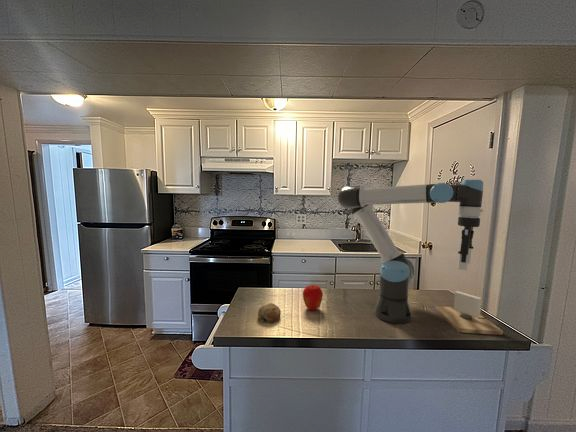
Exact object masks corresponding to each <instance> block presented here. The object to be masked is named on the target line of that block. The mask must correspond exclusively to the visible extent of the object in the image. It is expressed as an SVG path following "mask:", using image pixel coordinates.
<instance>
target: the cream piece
mask: <svg viewBox="0 0 576 432" xmlns="http://www.w3.org/2000/svg"><path fill="white" fill-rule="evenodd" d="M453 307H454V310H456V311H459V312H461V317H462V318H463V319H467V320H471V319H472V316H473V317H476V318H478V317H480V314H481V310H482V309H481V307H482V297H481V296H480V297H479V296H476V295H472V294H469V293H465V292H463V291H459V290H455V291H454V298H453Z"/></svg>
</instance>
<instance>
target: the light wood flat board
mask: <svg viewBox="0 0 576 432" xmlns="http://www.w3.org/2000/svg"><path fill="white" fill-rule="evenodd" d="M435 310H436V312H437V313H439V315H441V316H442V318H443V319H445V320H446V321H447V322H448V323H449V324H450V325H451V326H452V327H453V328H454V329H455V331H457V332H458V333H467V334H479V335H480V334H484V335H496V336H497V335H499V336H503V335H504V331H503V330H502V329H501V328H499V327H498V326H496V325H495V324H494V323H493V322H491V321H490V320H489V319H487V318H486V317H485V316H483V315H482V314H481V313H480V317H478V318H476V317H473V316H472V319H471V320H467V319H463V318H462V317H461V312H459V311H456V310H454V306H443V305H442V306H441V305H439V306H438V305H437V306H436V305H435Z"/></svg>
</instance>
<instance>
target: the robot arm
mask: <svg viewBox="0 0 576 432" xmlns="http://www.w3.org/2000/svg"><path fill="white" fill-rule="evenodd" d="M483 194H484V181H483V180H482V179H462V180H461V182H460V184H451V183H450V184H449V183H445V182H438V183H429V184H414V185H412V184H411V185H399V186H383V187H380V186H379V187H367V188H366V187H365V186H364V185H363V186H361V185H346V186H344V187H343V188H341V189H340V190H339V192H338V194H337V201H338V203H339V205H340V206H341V207H342V208H344V209H346V210H349V211H350V213H351V214H352V216H354V217H356V218H357V219H358V220H359V223H360V224H361V225H362V227H363V229H364V230H365V232H366V234H367V236H368V238H369V239H370V241H371V243H372V244H373V246H374V248H375V249H376V251H377V253H378V255H379V256H380V258H381V259H380V260H381V261H380V264H381V265H380V269H379V296H378V299H377V301H376V303H375V307H374V315H375V316H376V317H377V318H378V319H380V320H382V321H385V322H388V323H390V324H392V323H393V324H397V325H398V324H400V325H401V324H407V323H409V322H411V321H412V311H411V308H410V304H409V284H410V283H411V281H412V280H413V278H414V276H415V266H414V265H413V262H412V261H411V260H409V259H408V258H407V257H406V255H405V253H404V252H403V251H400V250H398V248H397V247H396V245H395V243H394V242H393V240H392V238H391V237H390V235H389V233H388V231H387V230H386V229H385V226H384V225H383V223H382V222H381V221H380V218H379V217H378V215H377V214H376V212H375V210H374V205H398V204H400V205H401V204H406V205H407V204H433V203H434V204H435V203H436V204H437V203H438V204H445V203H447V202H448V203H459V207H458V216H459V217H458V218H457V225H458V226H460V227H464V228H463V229H462V230H461V243H460V248H459V249H460V251H459V250H458V251H457V252H458V253H457V254H459V263H458V270H461V271H464V272H465V271H468V265H470V264H471V257H472V256H471V255H472V249H473V250H474V246H473V238H474V233H475V231H474V230H473V229H474V228H478V227H480V224H481V218H480V217H481V214H482V212H483V211H484V210H483V208H482V203H483Z"/></svg>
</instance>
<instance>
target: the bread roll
mask: <svg viewBox="0 0 576 432" xmlns="http://www.w3.org/2000/svg"><path fill="white" fill-rule="evenodd" d="M257 316H258V319H259V321H260V322H261V323H268V324H269V323H270V324H274V323H277V322H279V321H280V319H281V309H280V307H279V306H278V305H276V304H275V303H272V302H271V303H268V304H264V305H261V306H260V307H259V309H258V311H257Z"/></svg>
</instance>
